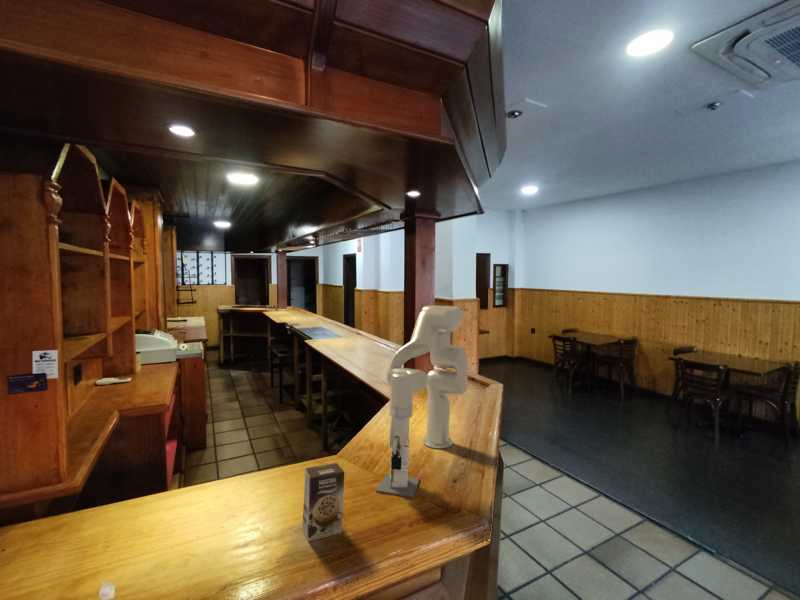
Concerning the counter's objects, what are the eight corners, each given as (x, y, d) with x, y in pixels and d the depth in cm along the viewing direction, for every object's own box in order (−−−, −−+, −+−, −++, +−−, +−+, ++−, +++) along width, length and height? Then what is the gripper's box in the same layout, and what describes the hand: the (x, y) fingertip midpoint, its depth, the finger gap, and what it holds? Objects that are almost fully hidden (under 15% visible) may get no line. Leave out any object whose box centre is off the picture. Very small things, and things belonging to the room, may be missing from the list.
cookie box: (307, 542, 94) (310, 478, 94) (301, 528, 99) (304, 467, 99) (343, 533, 98) (345, 471, 98) (335, 520, 103) (337, 461, 103)
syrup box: (389, 479, 127) (391, 436, 127) (407, 479, 127) (408, 436, 127) (390, 487, 121) (391, 442, 121) (408, 488, 121) (409, 443, 121)
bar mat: (385, 475, 131) (385, 473, 131) (419, 479, 128) (419, 478, 128) (376, 492, 119) (376, 490, 119) (413, 497, 117) (413, 495, 117)
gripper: (395, 402, 133) (394, 451, 133) (383, 417, 116) (381, 472, 116) (416, 404, 132) (415, 453, 131) (407, 419, 115) (405, 476, 115)
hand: (399, 462), depth 124 cm, fingers open, 9 cm apart
